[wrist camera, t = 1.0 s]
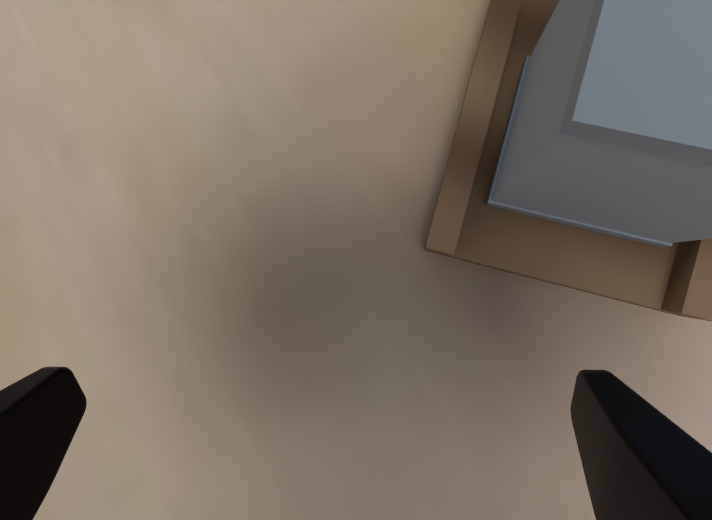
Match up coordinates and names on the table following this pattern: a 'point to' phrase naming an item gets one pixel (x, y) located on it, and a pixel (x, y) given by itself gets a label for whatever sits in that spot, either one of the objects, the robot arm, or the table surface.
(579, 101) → the grey ledged block
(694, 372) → the table surface
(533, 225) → the bay
